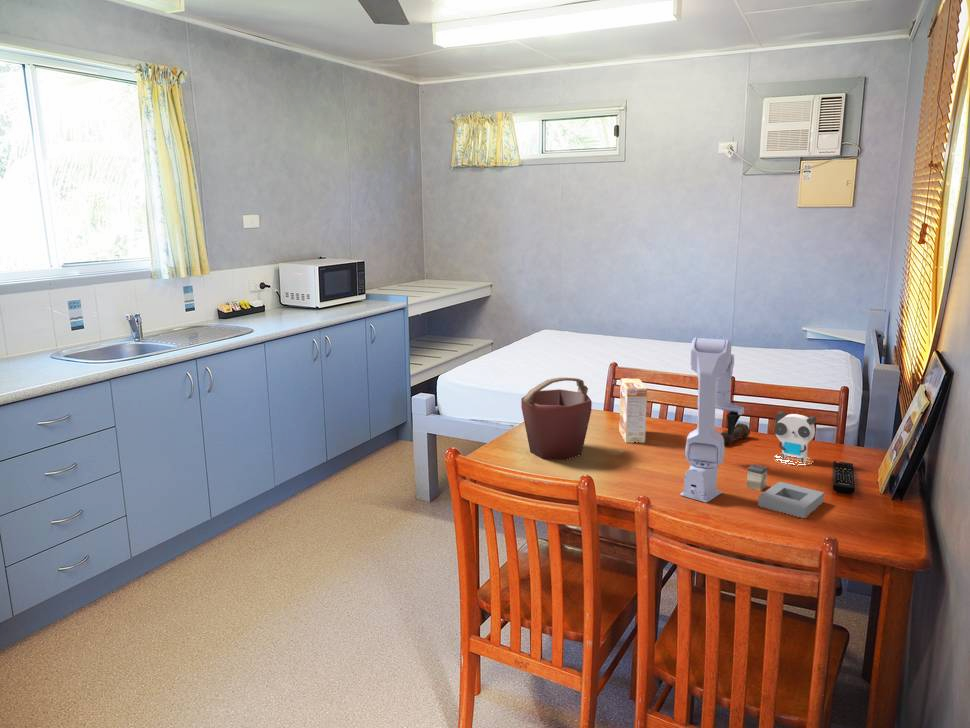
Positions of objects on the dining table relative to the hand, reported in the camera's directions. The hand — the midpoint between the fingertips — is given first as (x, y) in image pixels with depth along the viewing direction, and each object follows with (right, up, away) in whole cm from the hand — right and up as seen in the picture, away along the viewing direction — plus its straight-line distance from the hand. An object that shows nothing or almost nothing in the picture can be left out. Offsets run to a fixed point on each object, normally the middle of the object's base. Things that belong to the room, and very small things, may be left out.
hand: (718, 430), depth 219 cm
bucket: (-49, -9, +14) cm, 52 cm away
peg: (+5, -15, -17) cm, 23 cm away
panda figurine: (+25, -10, +5) cm, 27 cm away
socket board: (+10, -17, -29) cm, 35 cm away
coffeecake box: (-21, -5, +30) cm, 37 cm away
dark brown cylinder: (+12, -6, +24) cm, 27 cm away
